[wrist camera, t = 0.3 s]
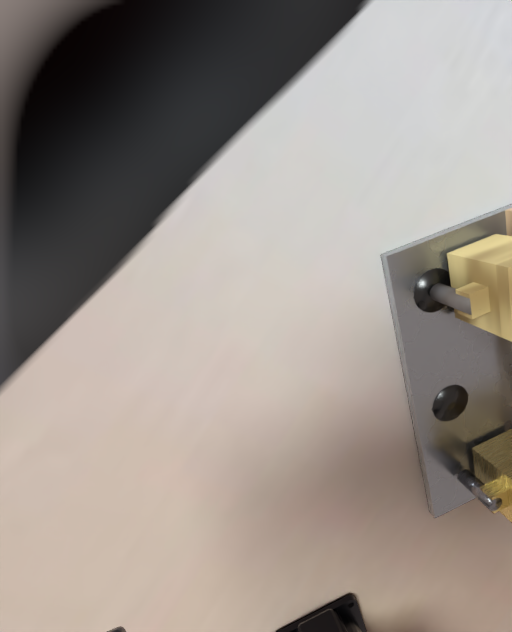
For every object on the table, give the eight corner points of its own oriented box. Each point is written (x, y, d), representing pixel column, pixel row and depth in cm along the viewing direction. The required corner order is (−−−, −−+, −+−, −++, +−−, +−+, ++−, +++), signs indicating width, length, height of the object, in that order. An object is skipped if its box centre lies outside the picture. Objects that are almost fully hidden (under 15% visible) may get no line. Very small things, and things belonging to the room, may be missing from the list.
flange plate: (553, 450, 32) (561, 455, 31) (429, 512, 30) (435, 518, 29) (545, 190, 24) (555, 191, 24) (380, 254, 23) (386, 256, 22)
